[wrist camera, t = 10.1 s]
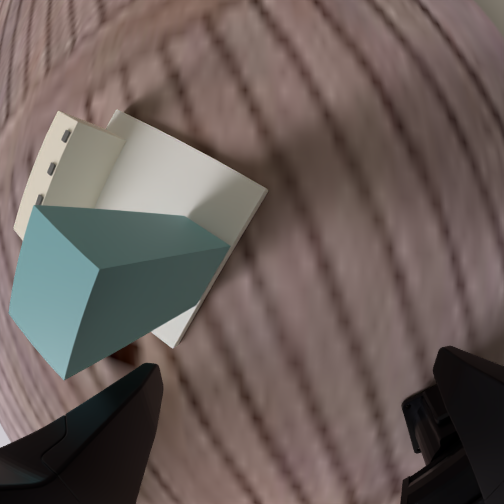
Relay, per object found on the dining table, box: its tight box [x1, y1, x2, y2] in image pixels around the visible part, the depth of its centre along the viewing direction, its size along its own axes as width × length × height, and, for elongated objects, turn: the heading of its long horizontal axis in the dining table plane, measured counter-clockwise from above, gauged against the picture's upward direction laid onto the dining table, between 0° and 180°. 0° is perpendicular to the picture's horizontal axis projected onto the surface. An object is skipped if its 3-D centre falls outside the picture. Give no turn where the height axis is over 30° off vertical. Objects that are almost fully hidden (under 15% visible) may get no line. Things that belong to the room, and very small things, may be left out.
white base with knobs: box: [13, 110, 269, 348], centre depth 20 cm, size 15×14×7 cm
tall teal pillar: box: [9, 205, 230, 380], centre depth 15 cm, size 4×5×13 cm
